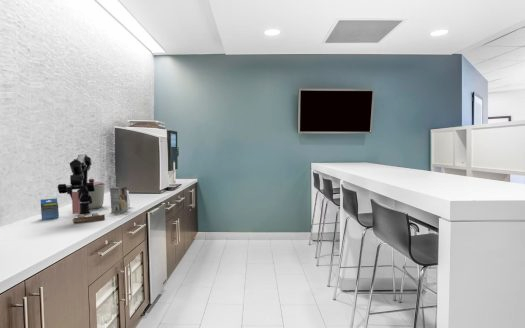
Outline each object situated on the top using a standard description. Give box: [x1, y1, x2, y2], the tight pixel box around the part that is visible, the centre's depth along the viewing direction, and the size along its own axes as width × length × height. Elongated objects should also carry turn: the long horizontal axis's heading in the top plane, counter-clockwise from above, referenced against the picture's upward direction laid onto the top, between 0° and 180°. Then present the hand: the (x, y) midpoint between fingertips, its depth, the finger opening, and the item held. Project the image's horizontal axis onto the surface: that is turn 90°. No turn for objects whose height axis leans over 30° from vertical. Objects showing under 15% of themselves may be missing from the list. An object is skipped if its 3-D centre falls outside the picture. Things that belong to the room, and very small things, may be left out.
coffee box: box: [109, 186, 129, 214], centre depth 223 cm, size 9×6×16 cm
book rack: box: [72, 212, 106, 225], centre depth 199 cm, size 11×16×3 cm
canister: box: [80, 178, 106, 210], centre depth 241 cm, size 18×18×21 cm
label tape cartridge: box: [40, 197, 60, 220], centre depth 207 cm, size 9×4×12 cm, turn 115°
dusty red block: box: [71, 191, 81, 215], centre depth 193 cm, size 6×3×12 cm, turn 21°
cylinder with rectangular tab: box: [127, 190, 131, 209], centre depth 238 cm, size 9×9×12 cm
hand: (75, 199), depth 192 cm, fingers closed on dusty red block, 3 cm apart
